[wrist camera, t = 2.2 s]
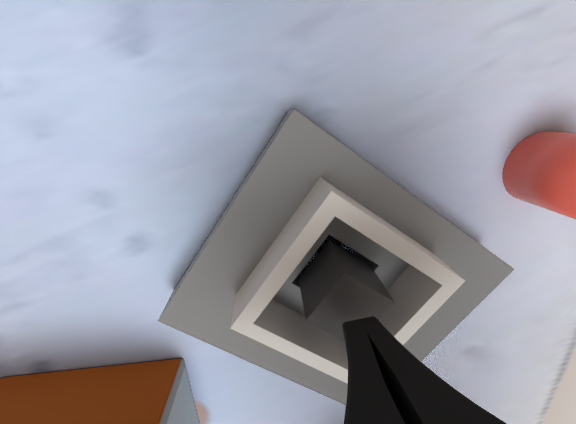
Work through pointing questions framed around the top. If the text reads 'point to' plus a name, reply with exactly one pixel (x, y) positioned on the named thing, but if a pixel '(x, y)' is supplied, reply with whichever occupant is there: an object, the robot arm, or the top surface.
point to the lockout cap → (544, 171)
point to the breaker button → (341, 290)
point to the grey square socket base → (302, 246)
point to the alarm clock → (101, 395)
